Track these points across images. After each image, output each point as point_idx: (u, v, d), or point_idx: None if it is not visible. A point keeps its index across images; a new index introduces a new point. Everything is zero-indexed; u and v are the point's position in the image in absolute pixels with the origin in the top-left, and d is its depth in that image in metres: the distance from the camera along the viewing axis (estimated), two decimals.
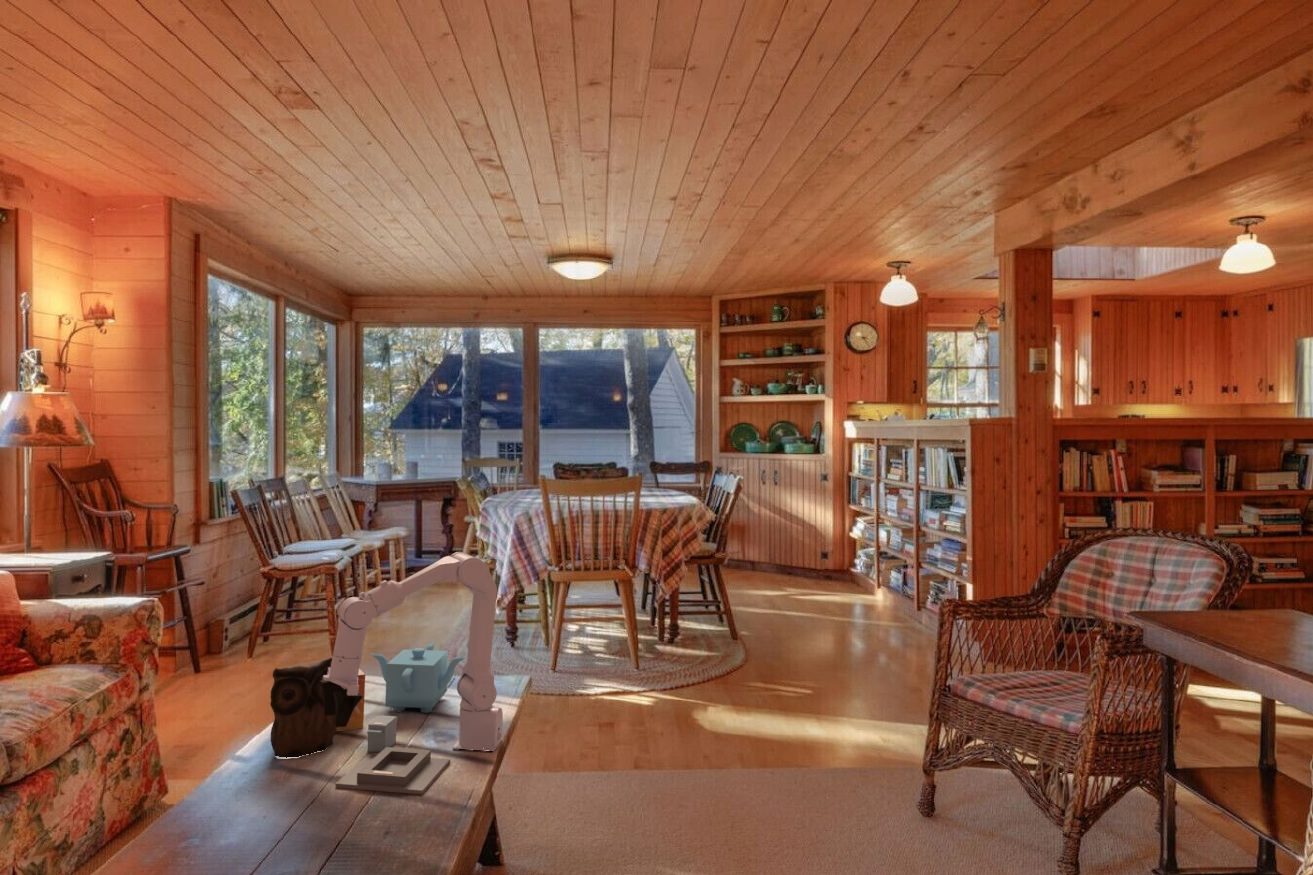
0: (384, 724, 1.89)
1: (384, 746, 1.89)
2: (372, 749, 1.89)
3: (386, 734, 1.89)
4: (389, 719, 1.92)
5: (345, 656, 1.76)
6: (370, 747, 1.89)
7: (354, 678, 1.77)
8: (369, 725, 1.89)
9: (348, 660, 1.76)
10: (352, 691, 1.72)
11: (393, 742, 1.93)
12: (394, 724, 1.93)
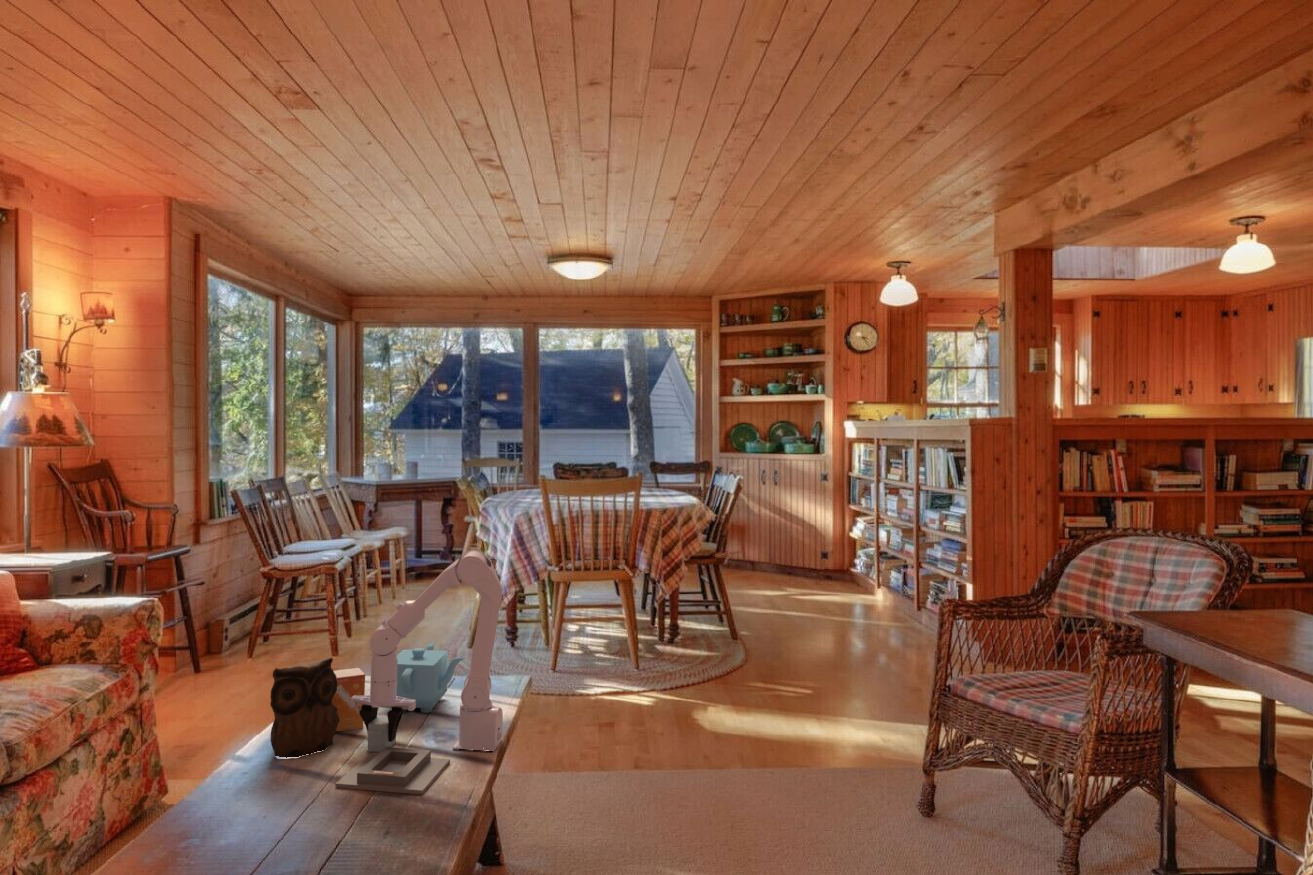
0: (384, 723, 1.89)
1: (384, 746, 1.89)
2: (372, 749, 1.89)
3: (386, 734, 1.89)
4: None
5: (376, 681, 1.89)
6: (370, 747, 1.89)
7: None
8: (369, 725, 1.89)
9: (394, 682, 1.91)
10: (413, 706, 1.91)
11: (393, 742, 1.93)
12: None
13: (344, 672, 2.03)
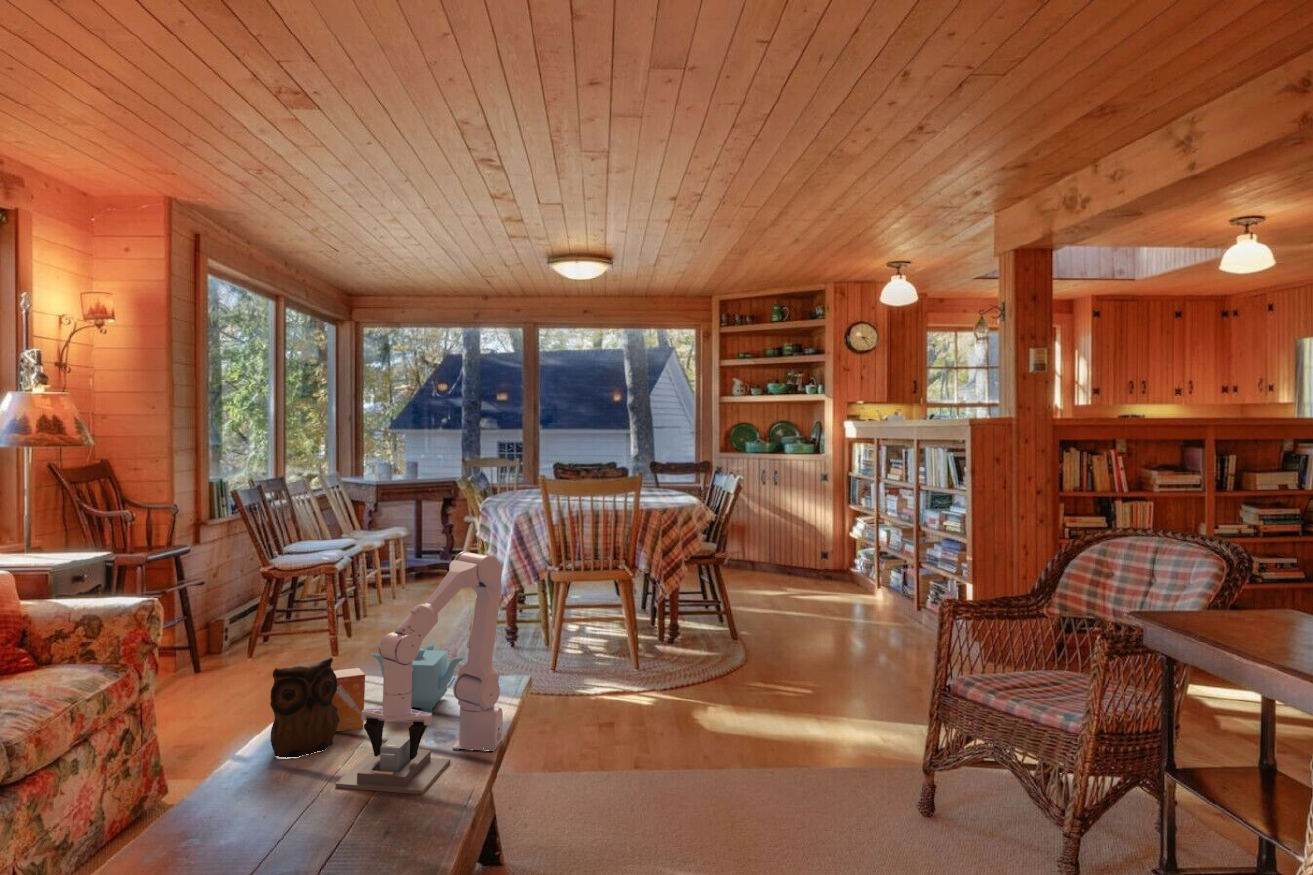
0: (398, 746, 1.75)
1: (398, 770, 1.74)
2: None
3: (400, 757, 1.74)
4: (403, 740, 1.77)
5: (401, 692, 1.74)
6: None
7: (410, 709, 1.78)
8: (381, 747, 1.74)
9: (409, 694, 1.76)
10: (430, 720, 1.76)
11: None
12: (408, 746, 1.79)
13: (344, 672, 2.03)
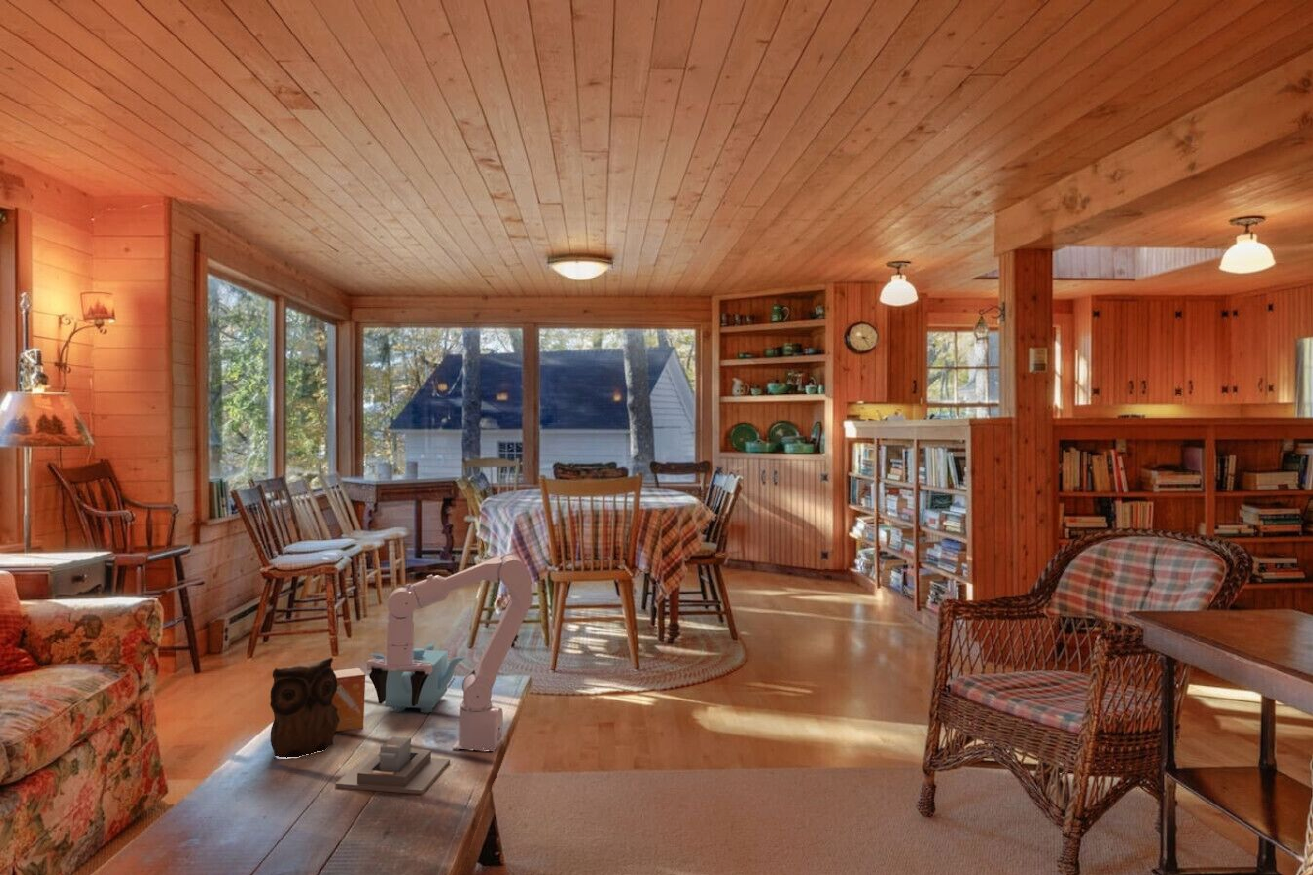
0: (398, 746, 1.75)
1: (398, 770, 1.74)
2: None
3: (400, 757, 1.74)
4: (403, 740, 1.77)
5: (395, 644, 1.87)
6: None
7: (412, 660, 1.91)
8: (381, 747, 1.74)
9: (411, 645, 1.89)
10: (430, 669, 1.89)
11: None
12: (408, 746, 1.79)
13: (344, 672, 2.03)
